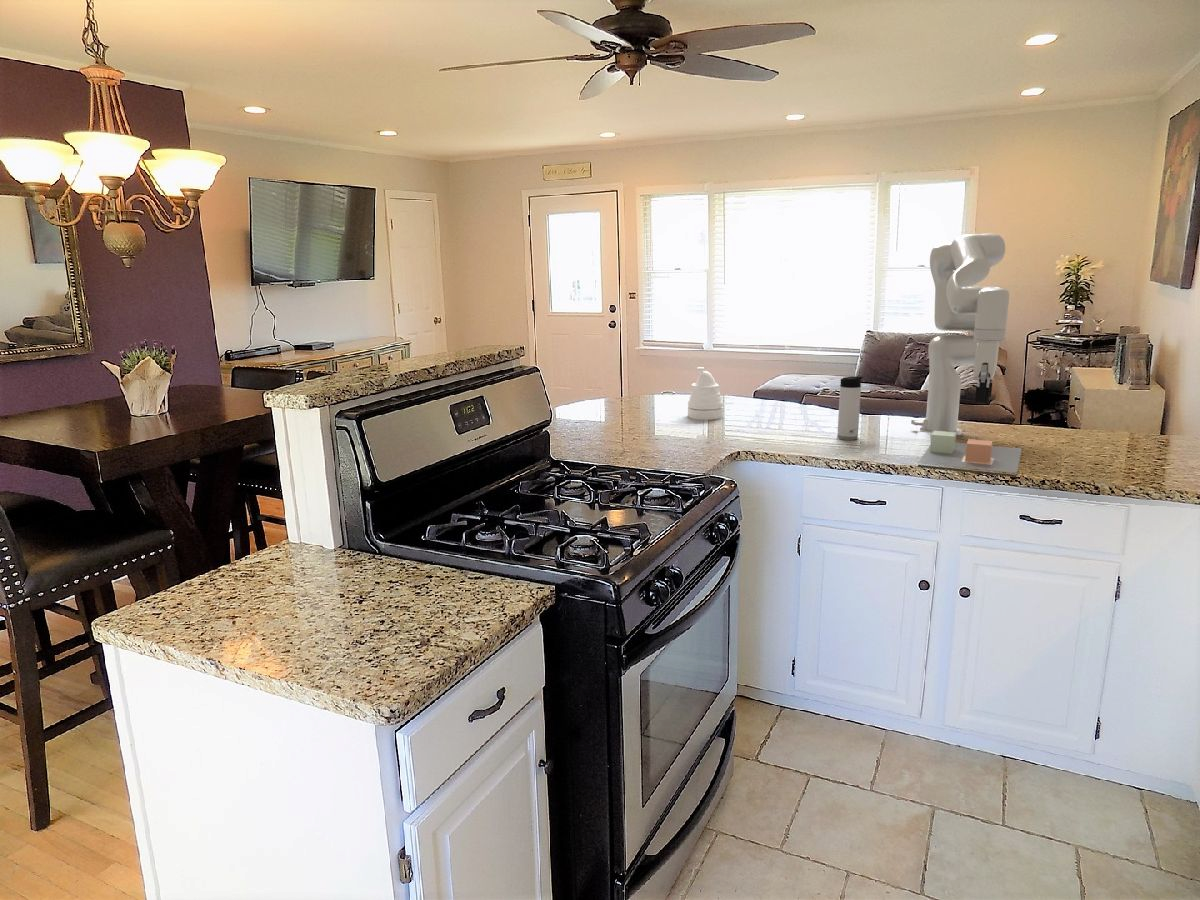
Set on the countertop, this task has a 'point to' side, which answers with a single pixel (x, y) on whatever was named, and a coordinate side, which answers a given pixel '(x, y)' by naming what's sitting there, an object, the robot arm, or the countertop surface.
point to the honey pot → (705, 398)
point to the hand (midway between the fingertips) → (983, 399)
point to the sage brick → (943, 442)
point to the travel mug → (849, 408)
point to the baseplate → (1000, 461)
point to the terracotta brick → (978, 451)
